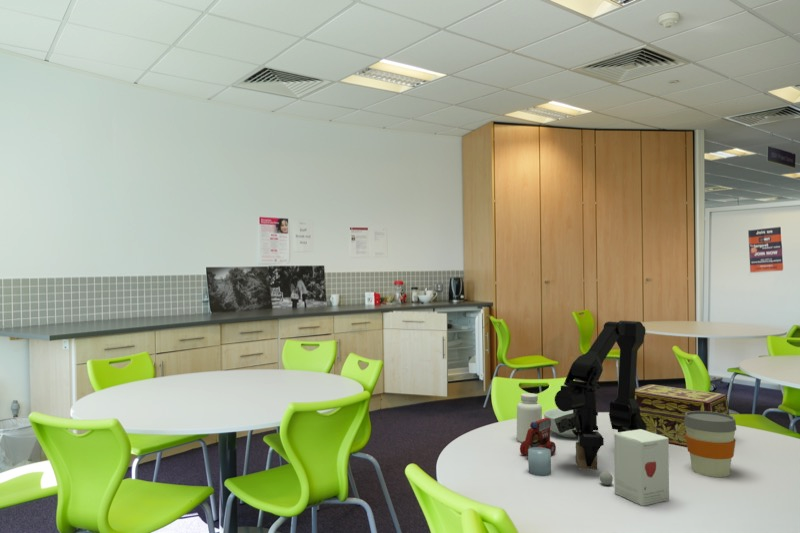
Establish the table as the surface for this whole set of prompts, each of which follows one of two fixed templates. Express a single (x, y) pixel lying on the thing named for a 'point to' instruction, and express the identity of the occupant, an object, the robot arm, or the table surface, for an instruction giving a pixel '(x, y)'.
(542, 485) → the table surface
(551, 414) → the cereal bowl
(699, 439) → the reusable coffee cup
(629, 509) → the table surface
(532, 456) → the blue domed cylinder
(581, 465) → the walnut block
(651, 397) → the decorative box
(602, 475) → the grey ball
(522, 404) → the pill bottle
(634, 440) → the supplement box
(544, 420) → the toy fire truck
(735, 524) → the table surface
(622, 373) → the robot arm
